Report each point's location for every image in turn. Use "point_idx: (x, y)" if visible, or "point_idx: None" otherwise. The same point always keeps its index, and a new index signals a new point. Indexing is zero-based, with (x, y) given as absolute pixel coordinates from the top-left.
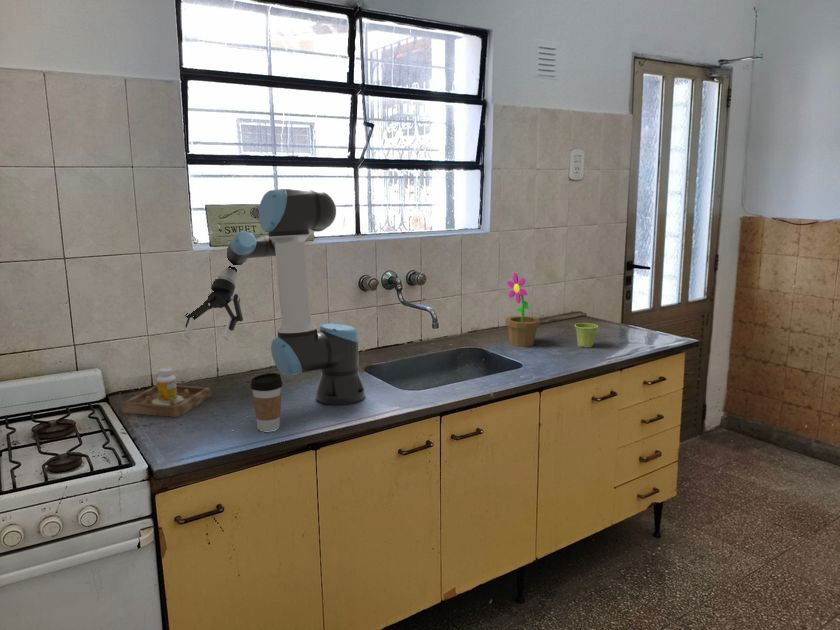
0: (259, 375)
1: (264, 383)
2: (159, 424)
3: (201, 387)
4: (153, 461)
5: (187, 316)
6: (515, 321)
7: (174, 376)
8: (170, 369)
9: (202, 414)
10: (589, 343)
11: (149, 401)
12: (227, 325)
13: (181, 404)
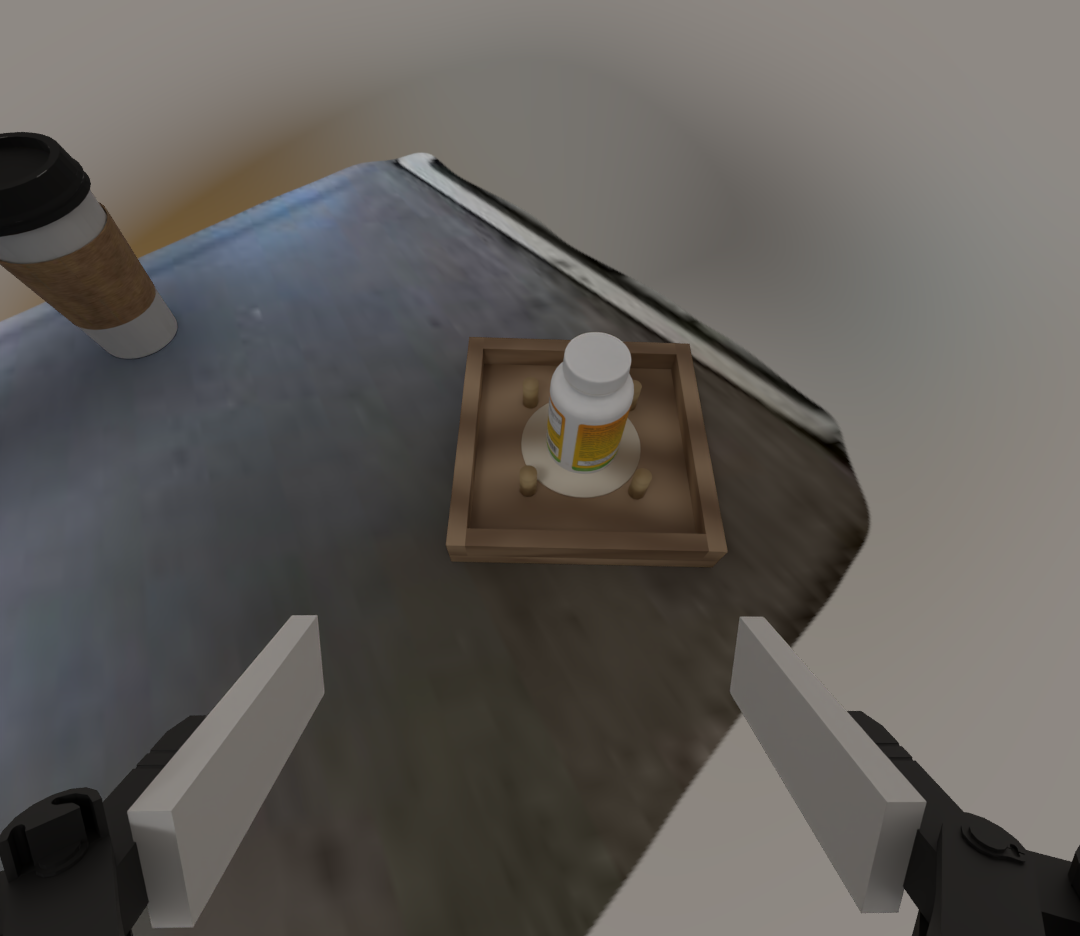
0: (20, 183)
1: (5, 136)
2: (501, 315)
3: (489, 541)
4: (399, 175)
5: (1040, 870)
6: None
7: (557, 391)
8: (572, 358)
9: (402, 394)
10: None
11: None
12: (227, 710)
13: (470, 360)
